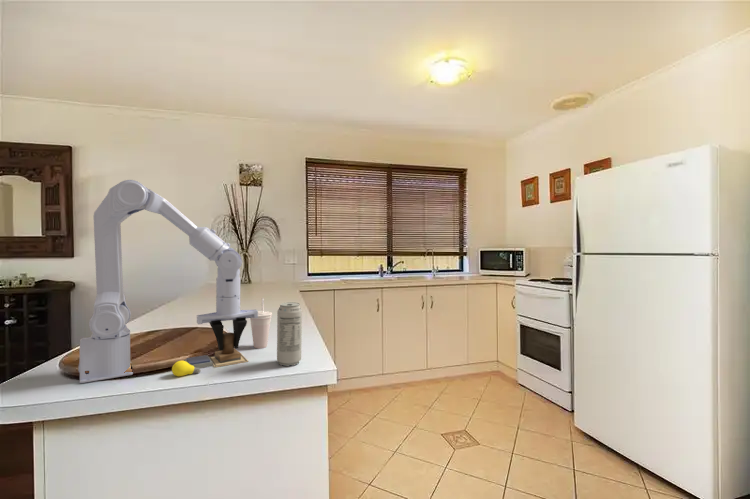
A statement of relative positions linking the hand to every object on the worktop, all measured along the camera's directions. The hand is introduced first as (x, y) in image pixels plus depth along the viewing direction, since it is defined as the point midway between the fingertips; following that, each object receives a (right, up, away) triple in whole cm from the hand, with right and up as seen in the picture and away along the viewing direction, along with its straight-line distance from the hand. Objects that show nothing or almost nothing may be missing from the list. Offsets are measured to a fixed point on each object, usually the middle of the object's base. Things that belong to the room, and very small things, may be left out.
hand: (228, 348), depth 96 cm
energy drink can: (+16, -4, -1) cm, 16 cm away
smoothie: (+5, -3, +12) cm, 13 cm away
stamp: (0, -3, 0) cm, 3 cm away
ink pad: (-6, -3, -4) cm, 8 cm away
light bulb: (-6, -4, -10) cm, 12 cm away
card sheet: (0, -3, 0) cm, 3 cm away
